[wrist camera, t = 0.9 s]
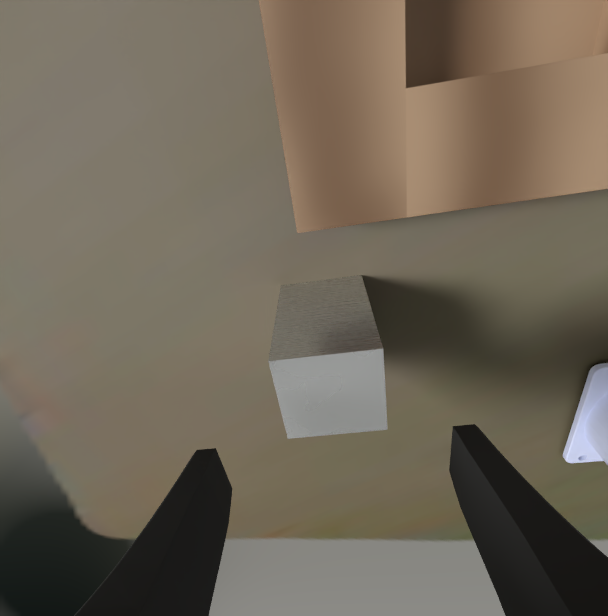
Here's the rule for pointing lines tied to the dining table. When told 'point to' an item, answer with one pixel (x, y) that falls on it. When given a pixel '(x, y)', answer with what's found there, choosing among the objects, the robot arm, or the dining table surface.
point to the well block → (436, 103)
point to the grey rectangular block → (328, 359)
